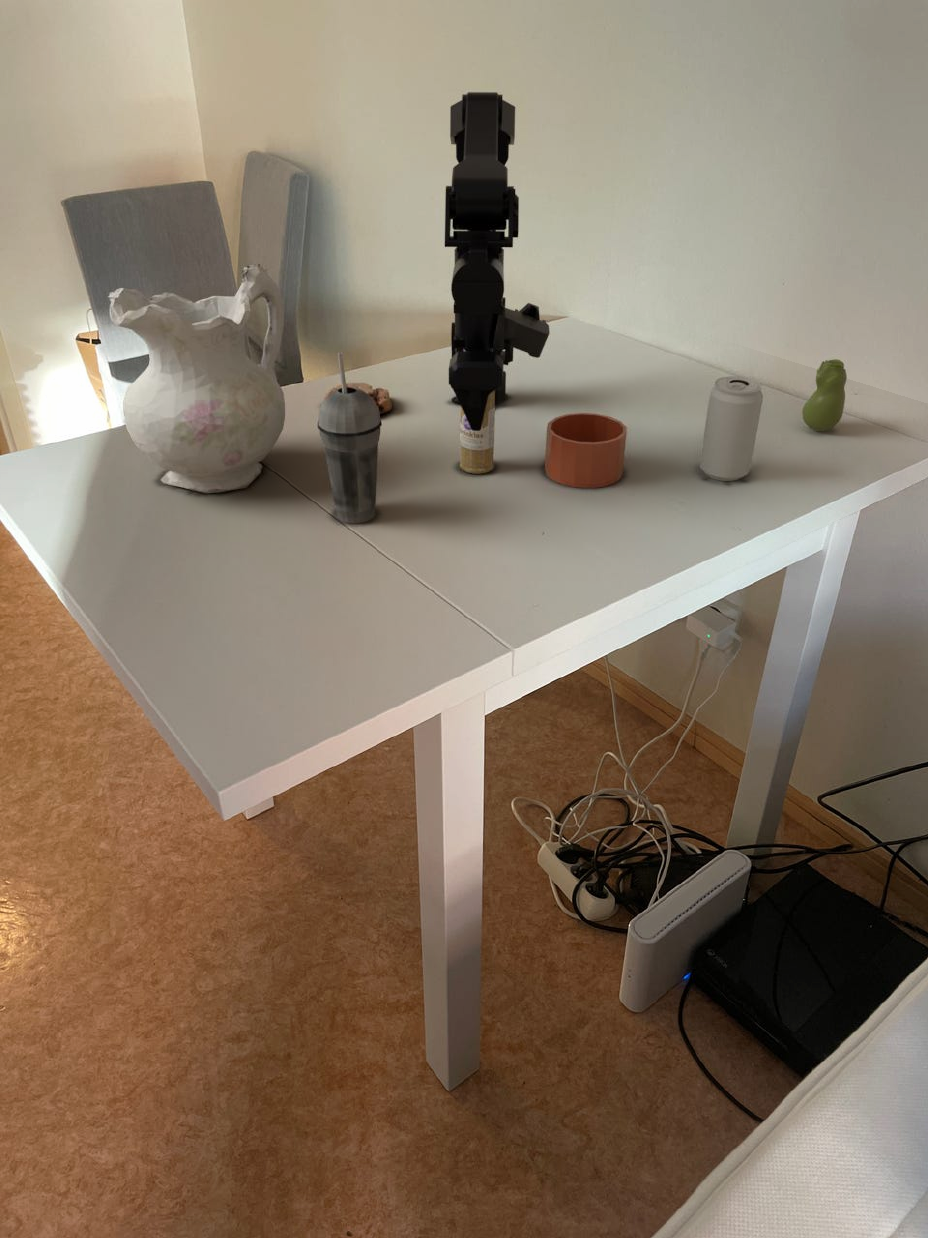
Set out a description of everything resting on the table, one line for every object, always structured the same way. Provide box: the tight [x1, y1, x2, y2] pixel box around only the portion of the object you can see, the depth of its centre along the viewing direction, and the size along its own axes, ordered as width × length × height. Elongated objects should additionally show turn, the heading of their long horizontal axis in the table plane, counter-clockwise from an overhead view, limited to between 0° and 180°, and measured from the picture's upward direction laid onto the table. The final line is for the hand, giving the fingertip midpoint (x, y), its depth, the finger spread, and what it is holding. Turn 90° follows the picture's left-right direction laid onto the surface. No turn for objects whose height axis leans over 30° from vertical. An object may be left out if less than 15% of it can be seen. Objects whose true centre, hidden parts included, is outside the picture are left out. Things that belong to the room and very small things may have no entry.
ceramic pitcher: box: [108, 263, 286, 494], centre depth 118 cm, size 22×20×25 cm
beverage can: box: [699, 375, 764, 482], centre depth 121 cm, size 6×6×12 cm
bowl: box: [544, 412, 628, 489], centre depth 123 cm, size 10×10×6 cm
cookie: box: [323, 382, 393, 415], centre depth 143 cm, size 10×11×3 cm
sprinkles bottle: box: [459, 390, 496, 475], centre depth 122 cm, size 5×5×14 cm
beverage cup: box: [317, 351, 383, 525], centre depth 109 cm, size 7×7×20 cm
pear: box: [801, 358, 848, 432], centre depth 134 cm, size 6×5×10 cm
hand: (477, 416), depth 122 cm, fingers open, 9 cm apart
